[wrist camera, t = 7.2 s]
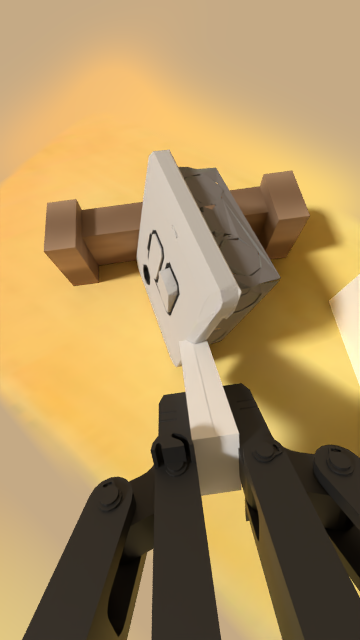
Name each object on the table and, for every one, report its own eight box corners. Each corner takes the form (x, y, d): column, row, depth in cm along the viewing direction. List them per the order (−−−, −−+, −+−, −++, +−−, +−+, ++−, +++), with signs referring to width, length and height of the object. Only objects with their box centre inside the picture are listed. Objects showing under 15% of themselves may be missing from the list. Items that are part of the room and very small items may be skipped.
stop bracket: (286, 257, 21) (310, 215, 17) (73, 285, 21) (43, 251, 17) (273, 217, 22) (292, 170, 18) (74, 244, 22) (47, 203, 18)
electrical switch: (135, 263, 21) (115, 150, 13) (194, 247, 22) (213, 132, 14) (174, 371, 18) (183, 318, 9) (242, 347, 19) (305, 279, 10)
